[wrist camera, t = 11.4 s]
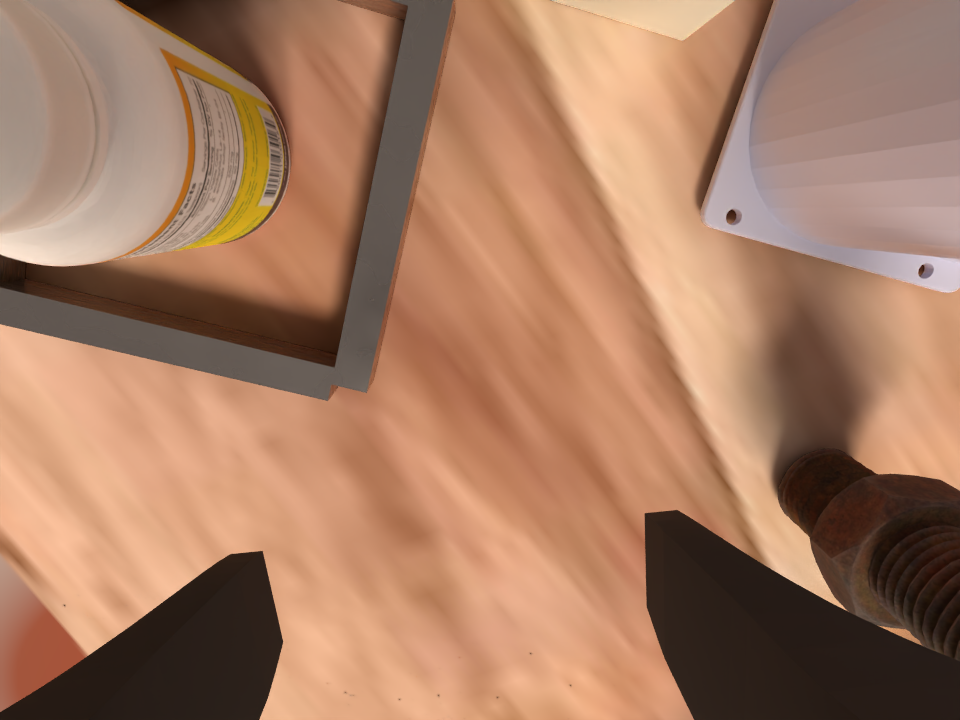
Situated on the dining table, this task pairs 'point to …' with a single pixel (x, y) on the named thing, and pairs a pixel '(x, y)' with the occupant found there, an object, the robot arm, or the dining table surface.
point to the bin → (655, 13)
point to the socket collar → (396, 175)
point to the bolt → (882, 543)
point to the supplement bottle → (125, 138)
